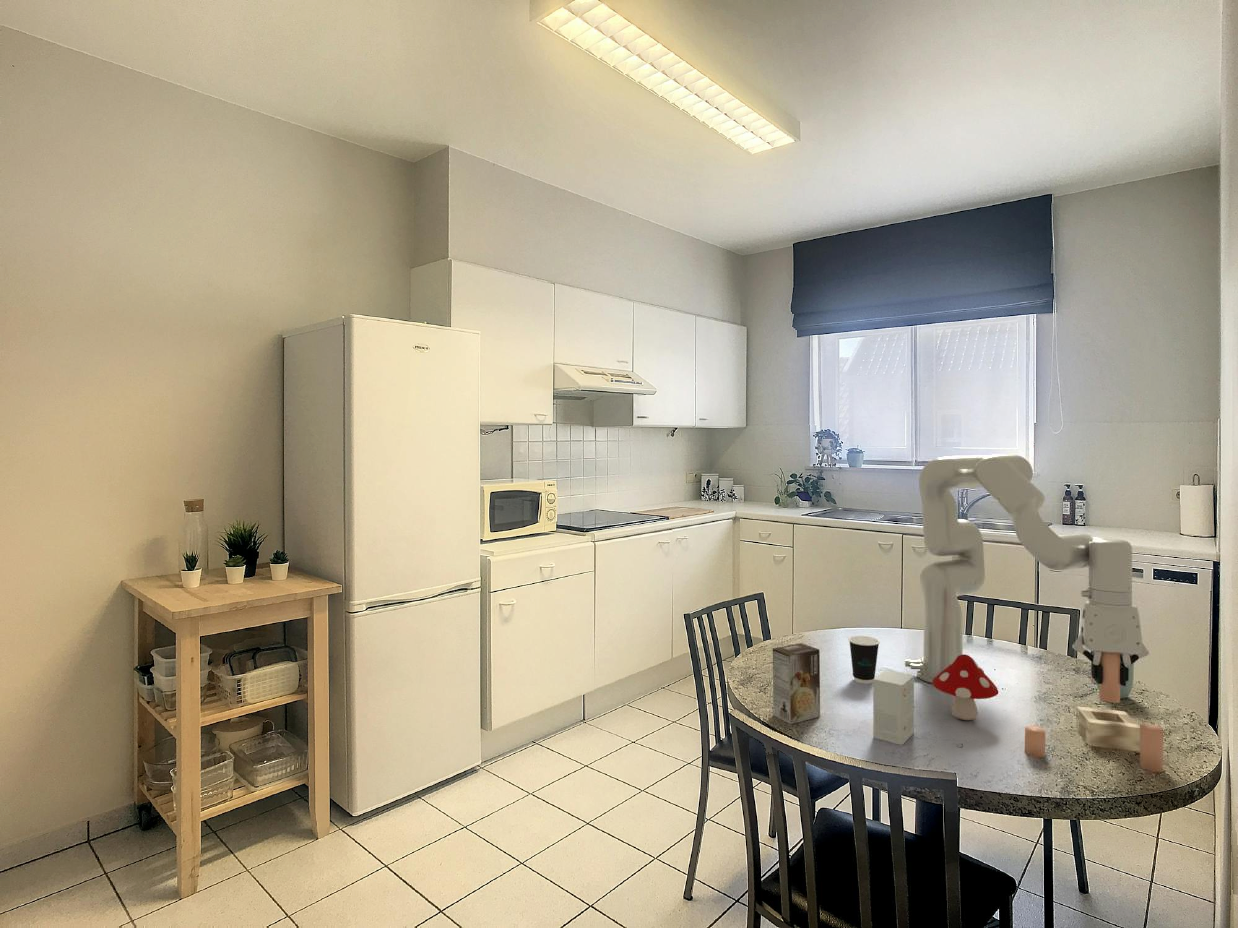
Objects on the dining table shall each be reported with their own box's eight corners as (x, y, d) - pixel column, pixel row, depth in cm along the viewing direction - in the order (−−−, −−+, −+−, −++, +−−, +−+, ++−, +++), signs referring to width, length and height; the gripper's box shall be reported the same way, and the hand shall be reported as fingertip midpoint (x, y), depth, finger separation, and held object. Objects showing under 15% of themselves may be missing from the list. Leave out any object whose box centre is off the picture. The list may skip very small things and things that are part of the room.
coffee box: (801, 707, 166) (801, 642, 166) (820, 717, 161) (821, 649, 160) (771, 715, 162) (771, 647, 161) (790, 725, 156) (790, 655, 156)
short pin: (1026, 755, 141) (1027, 731, 140) (1022, 748, 144) (1023, 724, 144) (1047, 758, 139) (1047, 734, 139) (1042, 750, 143) (1043, 727, 143)
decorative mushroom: (970, 704, 168) (971, 643, 167) (1014, 727, 154) (1015, 661, 154) (919, 709, 165) (919, 647, 164) (959, 733, 151) (959, 666, 151)
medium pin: (1144, 770, 134) (1144, 730, 134) (1136, 762, 137) (1136, 722, 137) (1166, 773, 133) (1166, 732, 133) (1158, 764, 136) (1158, 724, 136)
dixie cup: (862, 687, 179) (863, 645, 179) (841, 677, 187) (842, 637, 186) (886, 682, 183) (886, 641, 182) (864, 673, 190) (864, 634, 189)
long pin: (1102, 701, 146) (1102, 645, 146) (1097, 695, 149) (1097, 640, 149) (1122, 703, 145) (1123, 646, 144) (1116, 697, 148) (1117, 642, 148)
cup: (1139, 702, 168) (1140, 661, 168) (1103, 700, 170) (1104, 660, 169) (1123, 690, 176) (1123, 652, 175) (1089, 688, 177) (1089, 650, 177)
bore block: (1088, 745, 145) (1089, 722, 145) (1076, 728, 153) (1076, 706, 153) (1139, 751, 142) (1140, 727, 142) (1124, 733, 150) (1124, 711, 150)
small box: (885, 725, 156) (885, 668, 155) (914, 733, 152) (915, 674, 151) (872, 737, 150) (872, 678, 149) (902, 746, 145) (902, 685, 145)
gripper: (1069, 598, 146) (1069, 684, 146) (1164, 603, 140) (1163, 693, 141) (1060, 591, 153) (1059, 673, 153) (1149, 595, 147) (1149, 681, 148)
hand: (1109, 682), depth 147 cm, fingers closed on long pin, 3 cm apart
